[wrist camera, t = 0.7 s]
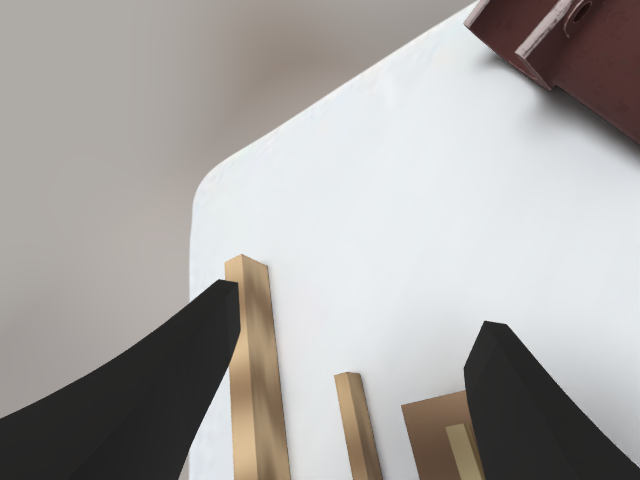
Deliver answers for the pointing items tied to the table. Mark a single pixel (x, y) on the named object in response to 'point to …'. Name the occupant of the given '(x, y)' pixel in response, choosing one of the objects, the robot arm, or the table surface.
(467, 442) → the cabinet
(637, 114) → the bracket
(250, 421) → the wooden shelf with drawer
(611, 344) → the table surface
